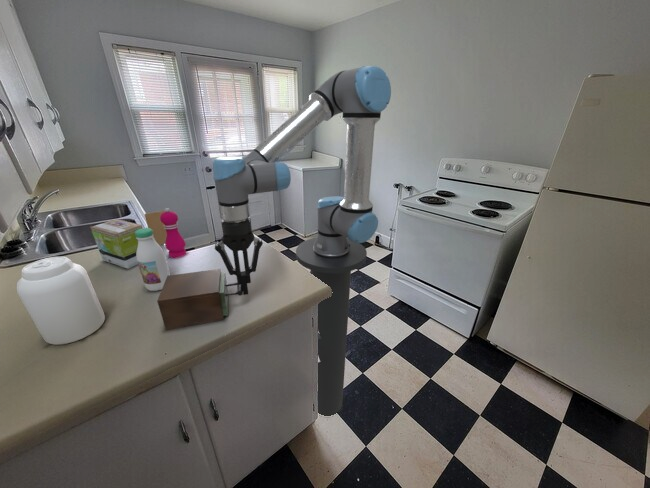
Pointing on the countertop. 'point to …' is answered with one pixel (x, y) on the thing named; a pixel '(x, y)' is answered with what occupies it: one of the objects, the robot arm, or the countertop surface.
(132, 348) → the countertop surface
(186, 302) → the cabinet
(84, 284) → the white plastic jar
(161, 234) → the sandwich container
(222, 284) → the drawer
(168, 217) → the pepper mill
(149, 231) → the milk bottle
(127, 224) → the tea box
